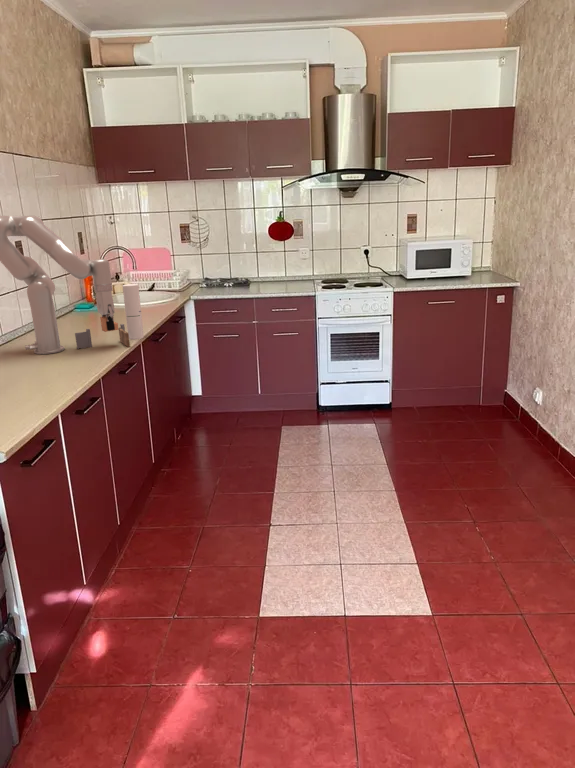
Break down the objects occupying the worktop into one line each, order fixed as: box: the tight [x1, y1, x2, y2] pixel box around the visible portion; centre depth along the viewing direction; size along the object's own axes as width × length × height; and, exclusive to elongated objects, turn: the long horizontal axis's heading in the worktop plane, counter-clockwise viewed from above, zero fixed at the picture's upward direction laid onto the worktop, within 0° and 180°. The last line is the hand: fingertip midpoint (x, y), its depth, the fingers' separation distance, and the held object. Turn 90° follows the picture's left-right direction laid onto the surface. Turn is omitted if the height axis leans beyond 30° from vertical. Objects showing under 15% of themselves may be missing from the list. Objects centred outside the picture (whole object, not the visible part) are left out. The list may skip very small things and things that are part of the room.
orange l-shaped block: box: [100, 316, 119, 333], centre depth 261 cm, size 6×4×6 cm
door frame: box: [74, 323, 126, 350], centre depth 266 cm, size 22×2×8 cm, turn 124°
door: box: [118, 327, 131, 348], centre depth 266 cm, size 14×1×6 cm, turn 29°
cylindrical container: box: [121, 283, 145, 340], centre depth 276 cm, size 7×7×25 cm
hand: (109, 328), depth 262 cm, fingers closed on orange l-shaped block, 4 cm apart
